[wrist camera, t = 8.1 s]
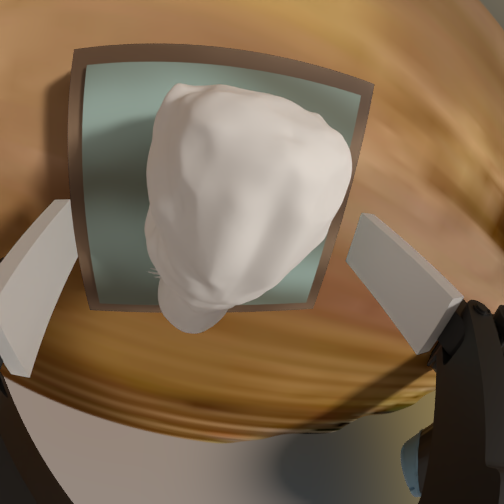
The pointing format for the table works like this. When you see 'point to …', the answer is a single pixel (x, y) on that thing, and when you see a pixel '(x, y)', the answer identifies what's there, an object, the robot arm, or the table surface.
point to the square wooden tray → (138, 145)
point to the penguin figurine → (236, 196)
